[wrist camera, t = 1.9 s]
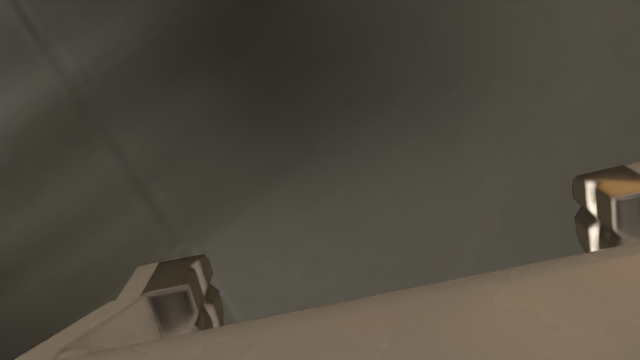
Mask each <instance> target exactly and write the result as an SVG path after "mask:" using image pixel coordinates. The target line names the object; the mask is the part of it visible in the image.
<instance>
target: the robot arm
mask: <svg viewBox="0 0 640 360" xmlns="http://www.w3.org/2000/svg"><path fill="white" fill-rule="evenodd" d="M572 192H573V199H574V200H575V201H576V202H577V203H578V204H579V205H580V206H581V207H580V209H579V211H578V212H577V214H576V216H575V226H576V233H577V236H578V239H579V242H580V244H581V246H582V248H583V249H584V251H585V252H586V253H583V254H578V255H573V256H568V257H563V258H558V259H553V260H548V261H543V262H538V263H533V264H528V265H523V266H518V267H513V268H508V269H503V270H498V271H493V272H488V273H483V274H479V275H474V276H469V277H464V278H459V279H454V280H449V281H444V282H439V283H434V284H429V285H424V286H419V287H414V288H409V289H404V290H399V291H394V292H389V293H384V294H379V295H375V296H370V297H365V298H360V299H355V300H350V301H345V302H340V303H335V304H330V305H325V306H320V307H315V308H310V309H305V310H300V311H295V312H290V313H285V314H280V315H275V316H271V317H266V318H261V319H256V320H251V321H246V322H241V323H236V324H231V325H226V326H223V325H224V311H223V306H222V300H221V297H220V294H219V290H217V289H216V288H215V287H213V286H212V285H211V284H210V280H211V277H212V274H213V271H212V268H211V265H210V262H209V259H208V258H207V257H206V255H205V254H202V255H197V256H192V257H186V258H181V259H176V260H171V261H166V262H157V263H153V264H148V265H144V266H139V267H137V268H136V270H135V272H134V273H133V275H132V276H131V278H130V279H129V281H128V282H127V284H126V285H125V287H124V289H123V290H122V292H121V293H120V295H119V296H118V298H117V299H116V301H112V302H108V303H107V304H105V305H103V306H102V307H100V308H98V309H97V310H95V311H93V312H92V313H90V314H88V315H87V316H85V317H84V318H82V319H80V320H79V321H77V322H75V323H74V324H72V325H70V326H69V327H67V328H65V329H64V330H62V331H60V332H59V333H57V334H55V335H54V336H52V337H51V338H49V339H47V340H46V341H44V342H42V343H41V344H39V345H37V346H36V347H34V348H32V349H31V350H29V351H27V352H26V353H24V354H22V355H21V356H19V357H18V358H16V359H14V360H640V162H637V163H633V164H629V165H625V166H624V165H621V166H617V167H613V168H608V169H604V170H600V171H595V172H591V173H587V174H582V175H578V176H577V177H575V178H574V179H573V185H572Z"/></svg>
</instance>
